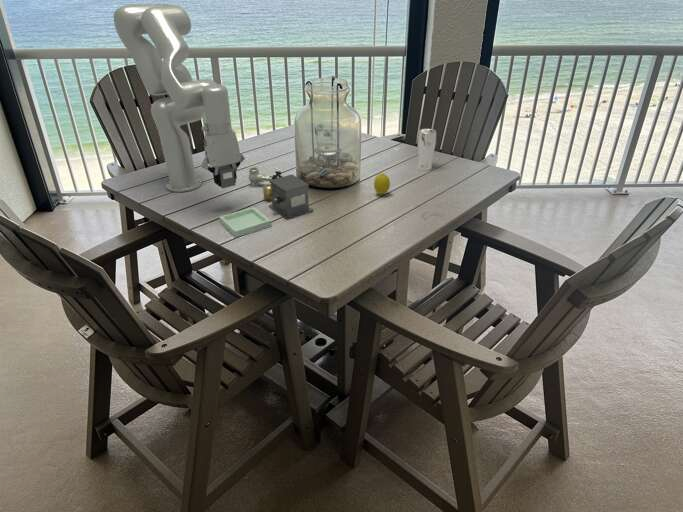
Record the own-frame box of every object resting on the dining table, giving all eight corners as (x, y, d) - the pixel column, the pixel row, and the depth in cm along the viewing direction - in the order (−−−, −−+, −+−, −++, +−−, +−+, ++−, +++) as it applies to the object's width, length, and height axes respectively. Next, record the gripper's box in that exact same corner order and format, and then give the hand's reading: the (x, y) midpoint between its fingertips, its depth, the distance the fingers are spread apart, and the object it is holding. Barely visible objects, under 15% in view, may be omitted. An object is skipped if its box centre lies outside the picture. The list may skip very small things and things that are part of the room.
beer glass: (435, 166, 184) (439, 130, 176) (428, 172, 179) (432, 134, 171) (419, 163, 187) (423, 127, 179) (412, 168, 182) (415, 131, 174)
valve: (246, 188, 167) (275, 192, 164) (244, 171, 163) (274, 174, 160) (254, 181, 172) (283, 185, 169) (252, 165, 169) (281, 168, 166)
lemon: (391, 193, 162) (392, 171, 158) (386, 198, 158) (387, 177, 154) (377, 190, 164) (377, 169, 160) (371, 196, 160) (372, 174, 156)
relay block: (216, 183, 148) (214, 166, 145) (229, 180, 151) (227, 163, 147) (222, 188, 145) (220, 171, 142) (235, 185, 147) (233, 168, 144)
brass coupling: (262, 199, 158) (260, 185, 156) (272, 196, 160) (271, 183, 158) (267, 203, 156) (266, 189, 153) (277, 200, 158) (276, 186, 155)
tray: (220, 222, 144) (219, 216, 142) (254, 212, 149) (253, 206, 148) (236, 237, 135) (235, 231, 134) (271, 226, 141) (271, 220, 140)
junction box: (265, 207, 152) (262, 181, 147) (294, 199, 158) (292, 173, 153) (282, 220, 144) (280, 193, 139) (313, 211, 150) (311, 184, 145)
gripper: (196, 136, 131) (205, 193, 141) (249, 126, 139) (254, 181, 149) (187, 129, 136) (196, 184, 146) (239, 120, 144) (244, 173, 154)
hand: (225, 182), depth 148 cm, fingers closed on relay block, 4 cm apart
